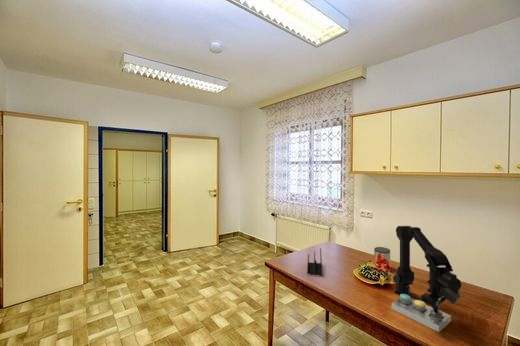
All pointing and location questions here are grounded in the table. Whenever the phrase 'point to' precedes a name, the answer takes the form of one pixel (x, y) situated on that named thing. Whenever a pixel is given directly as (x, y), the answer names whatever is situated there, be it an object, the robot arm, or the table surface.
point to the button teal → (405, 299)
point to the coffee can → (382, 252)
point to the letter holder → (315, 266)
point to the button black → (436, 315)
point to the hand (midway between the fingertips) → (436, 312)
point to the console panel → (422, 315)
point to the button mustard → (420, 306)
